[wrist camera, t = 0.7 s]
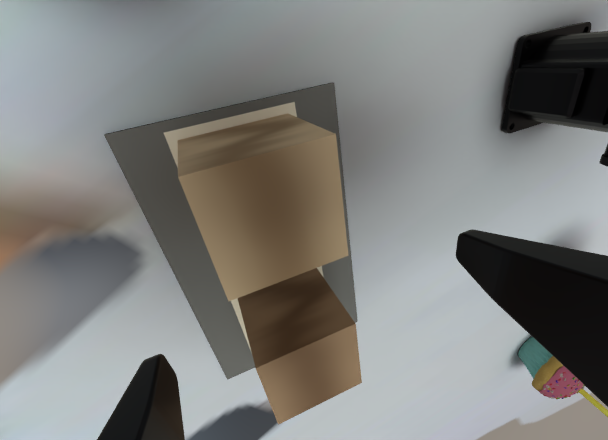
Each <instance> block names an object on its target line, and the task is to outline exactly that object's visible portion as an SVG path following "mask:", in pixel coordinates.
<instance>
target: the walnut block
mask: <svg viewBox="0 0 608 440" xmlns="http://www.w3.org/2000/svg"><path fill="white" fill-rule="evenodd" d="M237 299H238V302H239V306H240V310H241V314H242V318H243V321H244V325H245V329H246V333H247V337H248V341H249V344H250V348H251V352H252V356H253V360H254V364H255V367H256V370H257V373H258V375H259V378H260V380H261V382H262V385H263V387H264V390H265V392H266V395H267V397H268V400H269V402H270V405H271V407H272V410H273V412H274V414H275V417H276V419H277V422H278V424H280V423H282V422H284V421H286V420H288V419H290V418H292V417H294V416H296V415H298V414H300V413H302V412H304V411H306V410H308V409H310V408H312V407H314V406H316V405H318V404H320V403H322V402H324V401H326V400H328V399H330V398H332V397H334V396H336V395H338V394H340V393H342V392H344V391H346V390H348V389H350V388H352V387H354V386H356V385H358V384H360V383H362V381H361V372H360V362H359V352H358V343H357V333H356V324H355V322H354V321H353V319H352V318H351V316H350V315H349V313H348V312H347V311H346V309H345V308H344V306H343V305H342V303H341V302H340V301H339V299H338V298H337V296H336V295H335V293H334V292H333V290H332V289H331V288H330V286H329V285H328V283H327V282H326V280H325V279H324V277H323V276H322V275H321V273H320V272H319V270H318V269H317V268H315V269H312V270H310V271H307V272H304V273H302V274H299V275H296V276H294V277H291V278H289V279H286V280H283V281H281V282H278V283H276V284H273V285H270V286H268V287H265V288H263V289H260V290H257V291H255V292H252V293H250V294H247V295H244V296H242V297H239V298H237Z"/></svg>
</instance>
